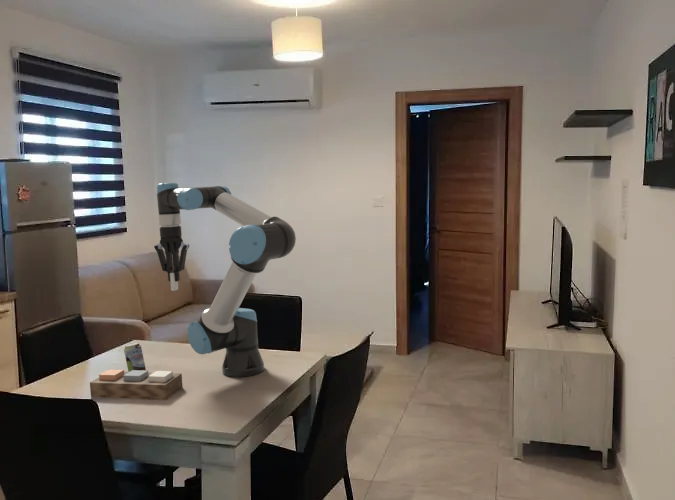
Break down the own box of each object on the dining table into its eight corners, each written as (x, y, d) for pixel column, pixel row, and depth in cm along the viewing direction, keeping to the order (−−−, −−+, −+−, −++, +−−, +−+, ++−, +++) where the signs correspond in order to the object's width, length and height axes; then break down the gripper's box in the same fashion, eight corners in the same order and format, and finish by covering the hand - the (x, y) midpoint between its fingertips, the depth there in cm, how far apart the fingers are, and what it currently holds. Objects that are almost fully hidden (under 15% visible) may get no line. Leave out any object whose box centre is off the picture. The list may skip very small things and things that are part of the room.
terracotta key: (124, 381, 217) (124, 369, 217) (115, 386, 212) (114, 375, 211) (109, 380, 219) (108, 369, 218) (99, 386, 213) (99, 374, 212)
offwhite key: (173, 382, 214) (172, 371, 213) (165, 388, 208) (164, 376, 208) (157, 382, 215) (156, 370, 214) (149, 388, 209) (148, 376, 209)
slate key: (149, 382, 215) (148, 370, 215) (140, 387, 210) (139, 375, 209) (133, 381, 217) (132, 370, 216) (124, 387, 211) (123, 375, 211)
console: (182, 387, 217) (181, 373, 216) (166, 400, 205) (165, 385, 204) (111, 385, 222) (109, 371, 222) (91, 397, 211) (89, 382, 210)
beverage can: (141, 378, 228) (138, 346, 227) (122, 378, 230) (119, 345, 228) (149, 373, 234) (147, 341, 233) (131, 372, 236) (129, 341, 235)
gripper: (191, 224, 232) (195, 288, 235) (158, 225, 235) (163, 288, 238) (182, 226, 225) (186, 292, 227) (148, 227, 227) (153, 292, 230)
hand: (174, 290), depth 232 cm, fingers closed
